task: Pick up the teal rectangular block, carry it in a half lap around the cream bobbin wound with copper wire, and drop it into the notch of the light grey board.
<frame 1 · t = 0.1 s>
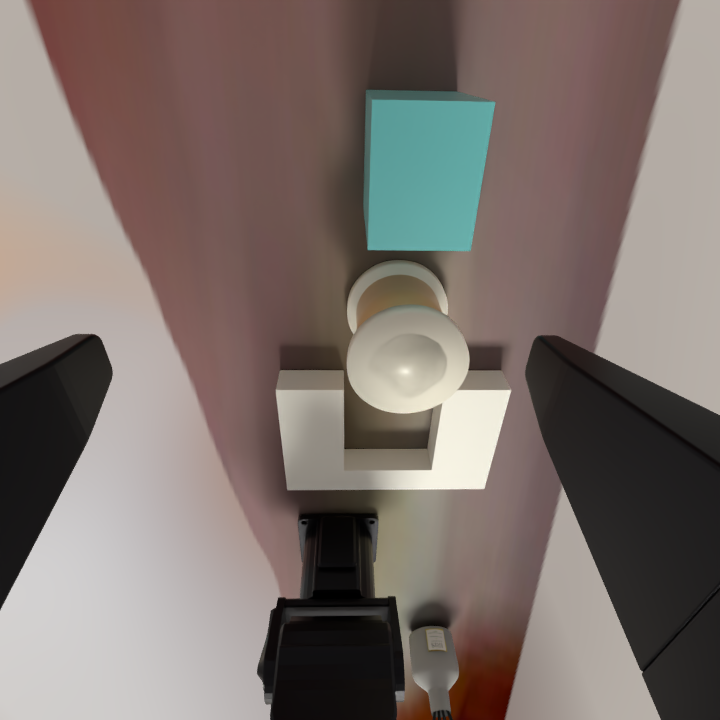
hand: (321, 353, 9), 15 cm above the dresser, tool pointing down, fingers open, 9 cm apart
notched board: (387, 423, 30), on the dresser
bobbin: (396, 306, 25), on the dresser
teal rectangular block: (407, 153, 20), on the dresser
reed diffuser: (422, 630, 48), on the dresser
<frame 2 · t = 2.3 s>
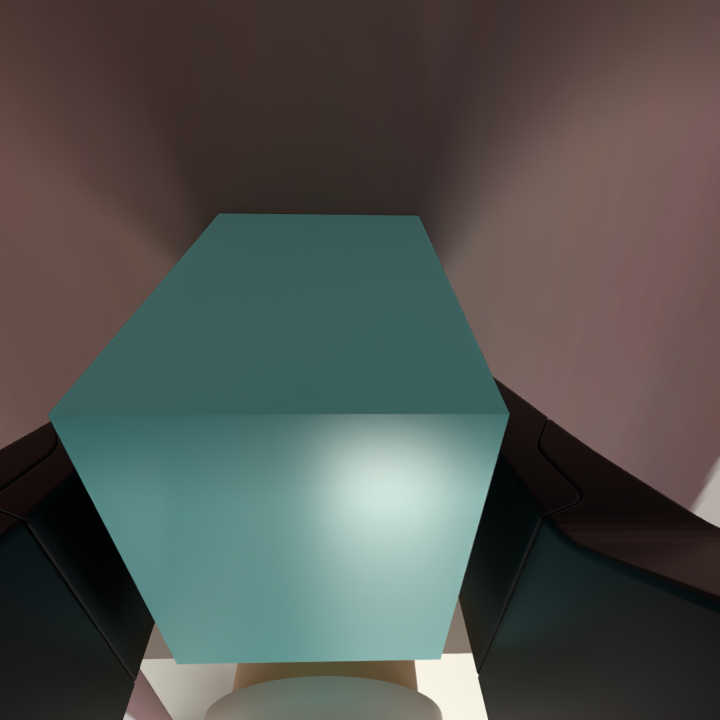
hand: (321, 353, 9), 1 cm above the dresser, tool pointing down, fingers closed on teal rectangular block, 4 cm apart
notched board: (335, 649, 20), on the dresser
bobbin: (331, 530, 15), on the dresser
teal rectangular block: (323, 323, 10), on the dresser, touching gripper
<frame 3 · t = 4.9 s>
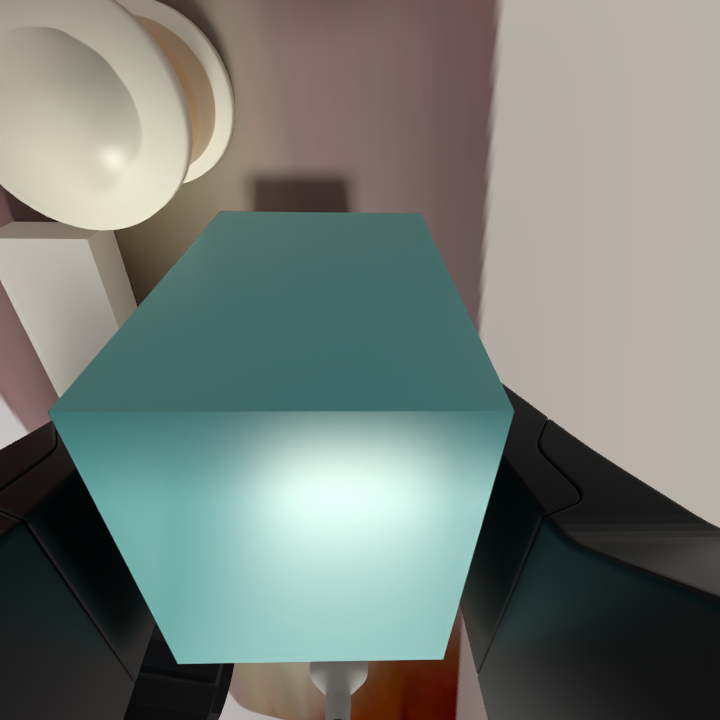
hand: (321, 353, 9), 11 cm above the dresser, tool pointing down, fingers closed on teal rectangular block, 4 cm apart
notched board: (204, 317, 21), on the dresser
bobbin: (155, 97, 16), on the dresser
teal rectangular block: (324, 321, 10), point 9 cm above the dresser, touching gripper
reed diffuser: (333, 619, 39), on the dresser
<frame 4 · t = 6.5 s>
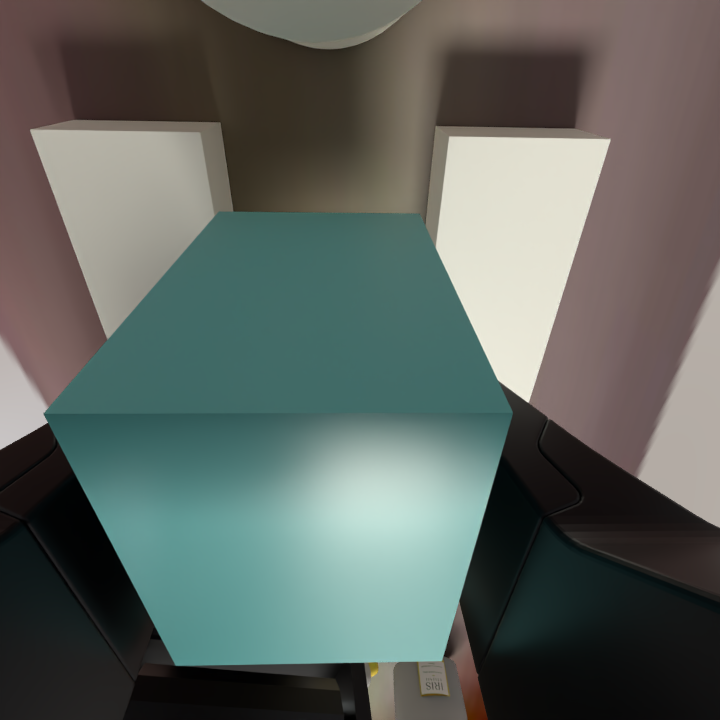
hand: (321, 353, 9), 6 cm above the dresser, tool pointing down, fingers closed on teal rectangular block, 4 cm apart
notched board: (331, 274, 15), on the dresser
teal rectangular block: (323, 322, 10), point 5 cm above the dresser, touching gripper
reed diffuser: (413, 659, 33), on the dresser
when the fingers open (3 cm above the dresser, at t = 7.6 s): teal rectangular block drops 2 cm, on the dresser.
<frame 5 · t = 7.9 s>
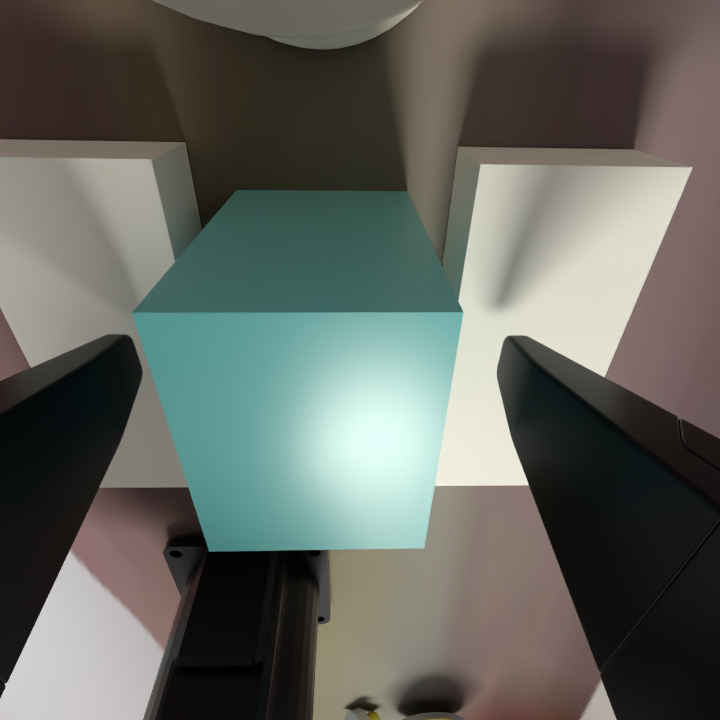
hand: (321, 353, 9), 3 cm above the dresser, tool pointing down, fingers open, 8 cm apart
notched board: (327, 322, 12), on the dresser
teal rectangular block: (325, 288, 12), on the dresser
reed diffuser: (418, 711, 30), on the dresser
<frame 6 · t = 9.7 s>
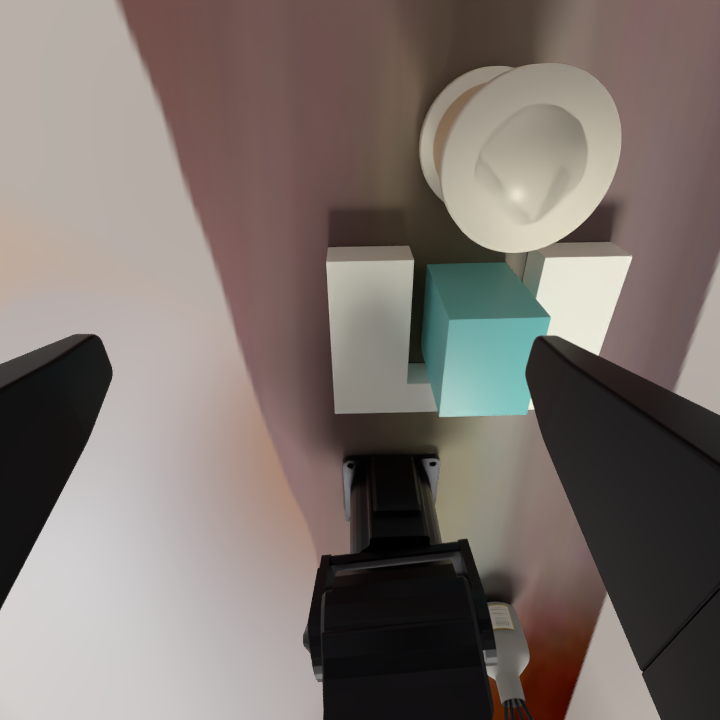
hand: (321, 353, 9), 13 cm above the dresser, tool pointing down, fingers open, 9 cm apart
notched board: (459, 324, 24), on the dresser
bobbin: (482, 143, 19), on the dresser
teal rectangular block: (460, 307, 23), on the dresser
reed diffuser: (479, 609, 41), on the dresser
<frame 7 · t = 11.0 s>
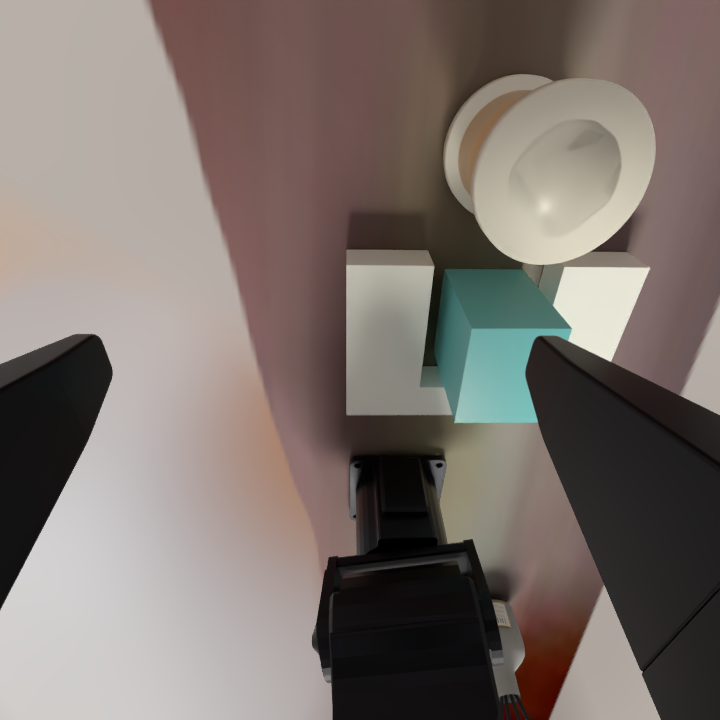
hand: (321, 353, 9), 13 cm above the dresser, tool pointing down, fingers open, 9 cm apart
notched board: (473, 329, 24), on the dresser
bobbin: (507, 150, 19), on the dresser
teal rectangular block: (475, 312, 23), on the dresser
reed diffuser: (476, 606, 42), on the dresser
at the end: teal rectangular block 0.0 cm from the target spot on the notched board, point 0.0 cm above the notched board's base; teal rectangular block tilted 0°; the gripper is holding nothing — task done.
